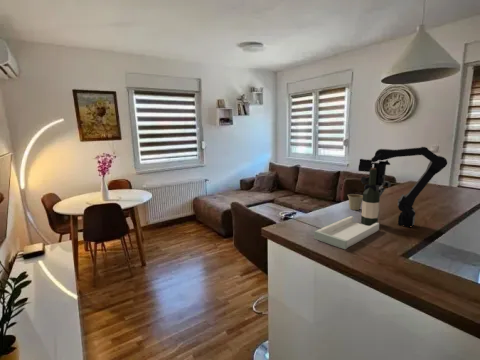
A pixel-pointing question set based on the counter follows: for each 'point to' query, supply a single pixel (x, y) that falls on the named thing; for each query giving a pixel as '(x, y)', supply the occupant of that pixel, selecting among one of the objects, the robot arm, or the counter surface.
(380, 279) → the counter surface
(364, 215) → the wine bottle
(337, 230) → the tray
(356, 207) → the flower pot
